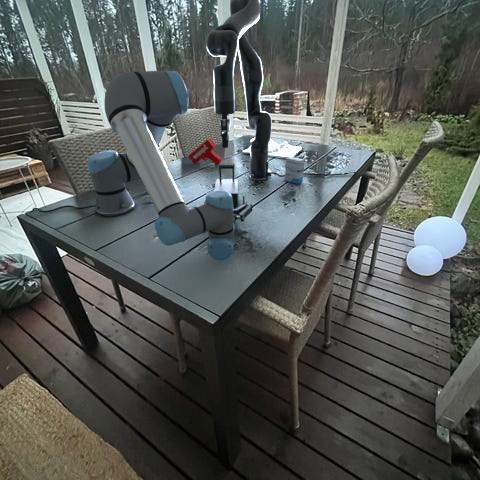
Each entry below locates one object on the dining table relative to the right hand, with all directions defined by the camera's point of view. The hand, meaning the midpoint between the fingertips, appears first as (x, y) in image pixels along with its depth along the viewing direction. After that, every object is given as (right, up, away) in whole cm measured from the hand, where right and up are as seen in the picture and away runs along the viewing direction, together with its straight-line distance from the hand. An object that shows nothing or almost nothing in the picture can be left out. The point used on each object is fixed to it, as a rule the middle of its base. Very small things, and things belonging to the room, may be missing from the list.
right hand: (225, 144), depth 108 cm
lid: (0, -16, +5) cm, 17 cm away
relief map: (+30, +26, +86) cm, 94 cm away
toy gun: (-16, +10, +62) cm, 65 cm away
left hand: (0, -22, +1) cm, 22 cm away
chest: (0, -24, +9) cm, 26 cm away
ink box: (+34, -7, +36) cm, 50 cm away
